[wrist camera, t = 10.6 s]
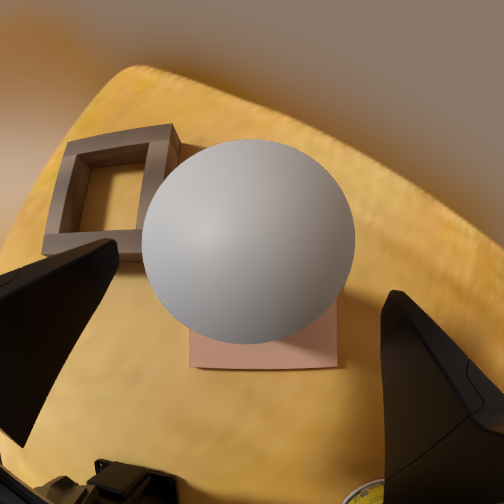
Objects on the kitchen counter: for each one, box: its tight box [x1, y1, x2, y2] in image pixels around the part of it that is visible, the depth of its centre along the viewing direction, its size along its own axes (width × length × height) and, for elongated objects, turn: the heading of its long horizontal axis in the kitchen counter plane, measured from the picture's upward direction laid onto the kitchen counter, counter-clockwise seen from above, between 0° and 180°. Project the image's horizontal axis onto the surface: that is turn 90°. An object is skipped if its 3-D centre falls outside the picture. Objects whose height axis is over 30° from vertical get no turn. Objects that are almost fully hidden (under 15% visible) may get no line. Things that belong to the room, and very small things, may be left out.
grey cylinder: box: [142, 139, 355, 344], centre depth 12 cm, size 4×4×13 cm
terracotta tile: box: [189, 299, 337, 369], centre depth 19 cm, size 9×9×1 cm
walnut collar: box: [41, 123, 181, 262], centre depth 20 cm, size 10×10×2 cm
